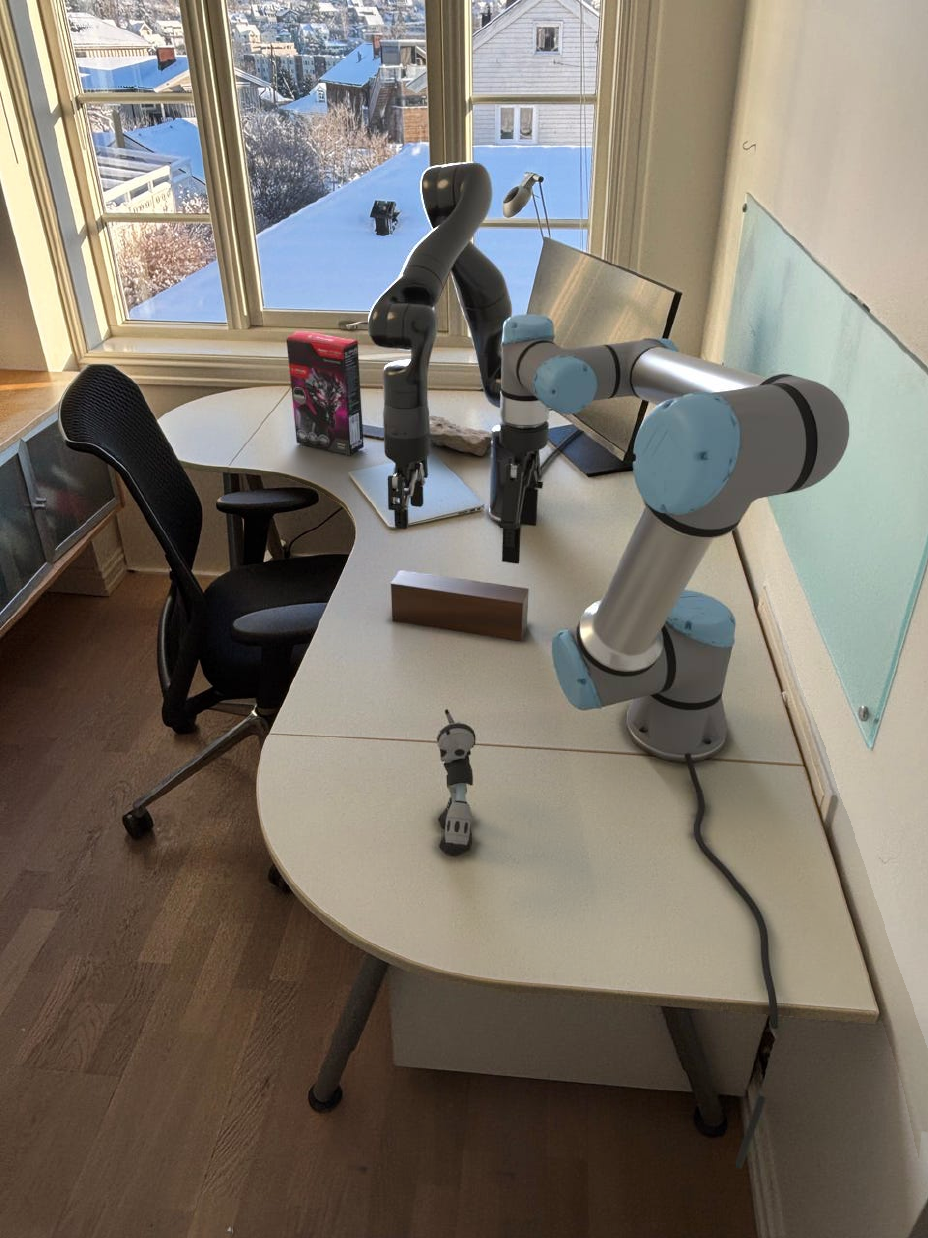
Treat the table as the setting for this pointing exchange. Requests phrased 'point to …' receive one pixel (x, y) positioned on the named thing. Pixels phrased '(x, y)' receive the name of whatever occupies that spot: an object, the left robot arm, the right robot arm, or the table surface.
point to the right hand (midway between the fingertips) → (519, 542)
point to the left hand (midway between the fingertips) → (409, 516)
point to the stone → (459, 436)
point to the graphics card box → (326, 391)
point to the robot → (456, 785)
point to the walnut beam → (459, 604)
